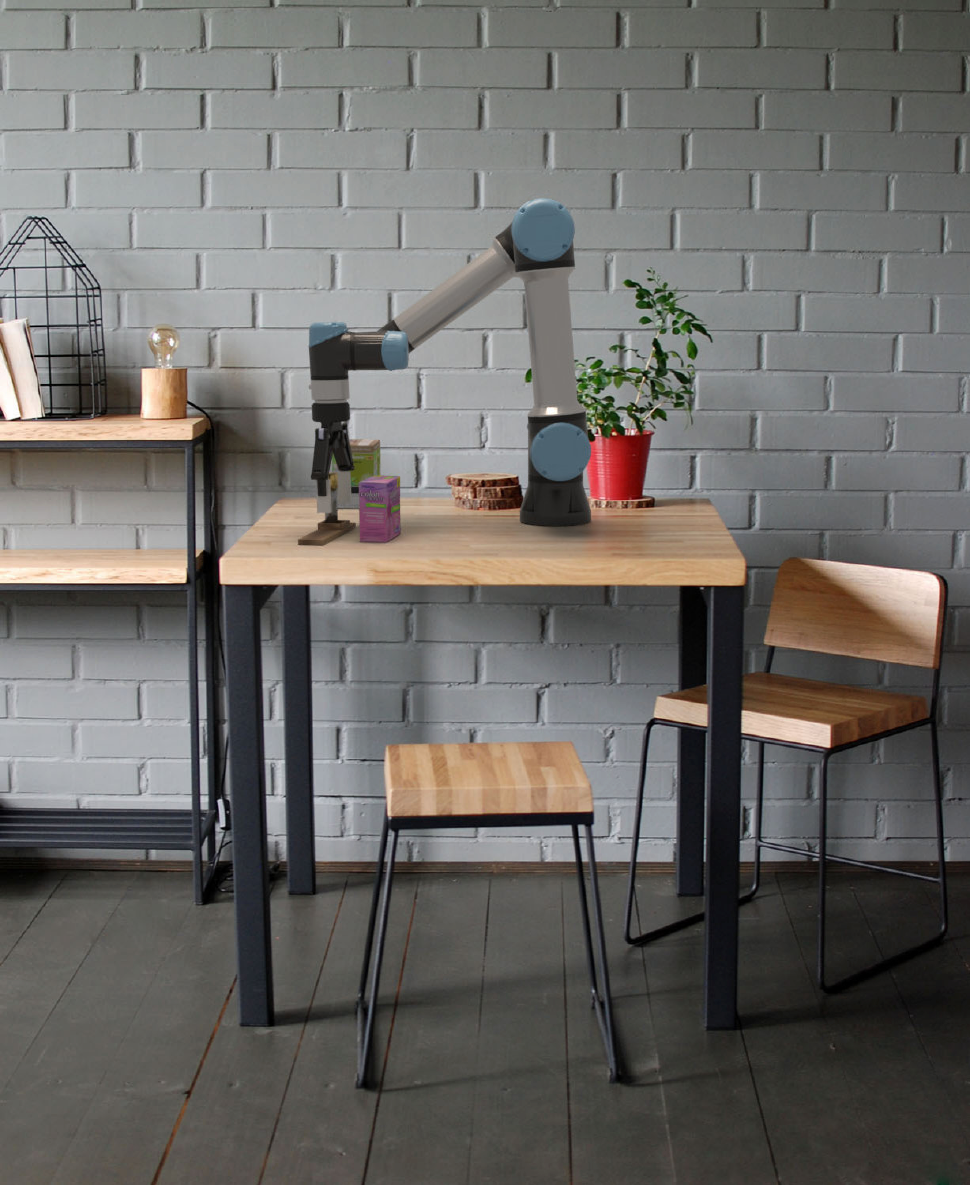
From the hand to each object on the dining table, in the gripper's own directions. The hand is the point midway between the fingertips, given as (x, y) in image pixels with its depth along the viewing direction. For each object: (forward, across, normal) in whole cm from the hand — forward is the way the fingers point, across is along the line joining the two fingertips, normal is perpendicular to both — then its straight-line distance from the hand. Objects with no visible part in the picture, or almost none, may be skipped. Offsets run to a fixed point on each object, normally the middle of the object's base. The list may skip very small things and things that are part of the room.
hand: (334, 507), depth 267 cm
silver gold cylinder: (+4, 0, -1) cm, 4 cm away
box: (+5, +5, +11) cm, 13 cm away
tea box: (+5, -40, -7) cm, 41 cm away
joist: (+5, +4, 0) cm, 6 cm away
